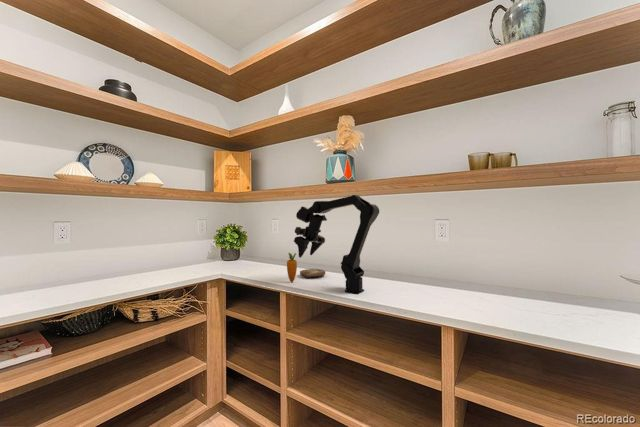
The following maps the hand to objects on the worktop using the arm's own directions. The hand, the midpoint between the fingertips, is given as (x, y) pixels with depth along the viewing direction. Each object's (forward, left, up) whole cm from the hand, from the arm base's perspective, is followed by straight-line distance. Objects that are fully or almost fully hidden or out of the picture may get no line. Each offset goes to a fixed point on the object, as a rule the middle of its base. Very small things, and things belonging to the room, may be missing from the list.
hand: (305, 256), depth 131 cm
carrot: (+7, +2, -14) cm, 15 cm away
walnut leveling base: (+7, -15, -13) cm, 21 cm away
